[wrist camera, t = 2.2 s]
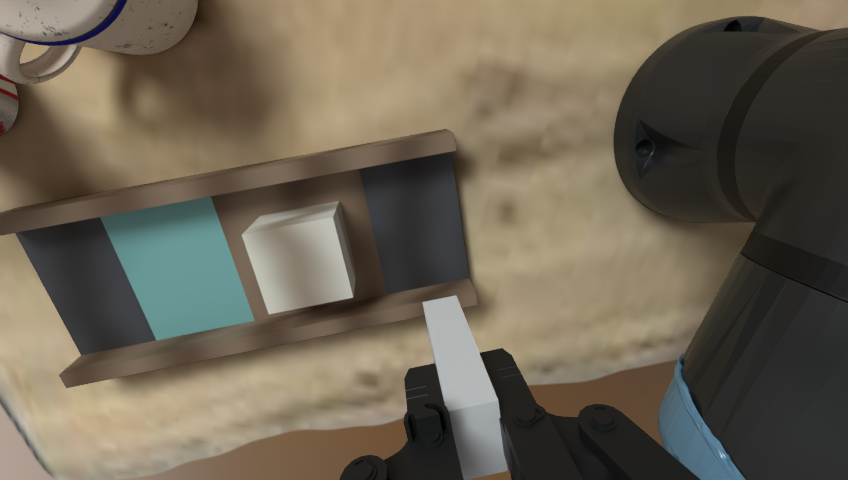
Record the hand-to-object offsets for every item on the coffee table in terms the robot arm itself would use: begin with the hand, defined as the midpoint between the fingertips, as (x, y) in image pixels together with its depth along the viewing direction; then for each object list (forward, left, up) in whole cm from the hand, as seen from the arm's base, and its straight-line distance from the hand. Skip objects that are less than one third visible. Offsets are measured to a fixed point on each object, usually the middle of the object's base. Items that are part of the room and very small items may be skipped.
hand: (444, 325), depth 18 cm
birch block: (+6, +6, -15) cm, 17 cm away
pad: (+14, +12, -16) cm, 25 cm away
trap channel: (+9, +8, -16) cm, 21 cm away
